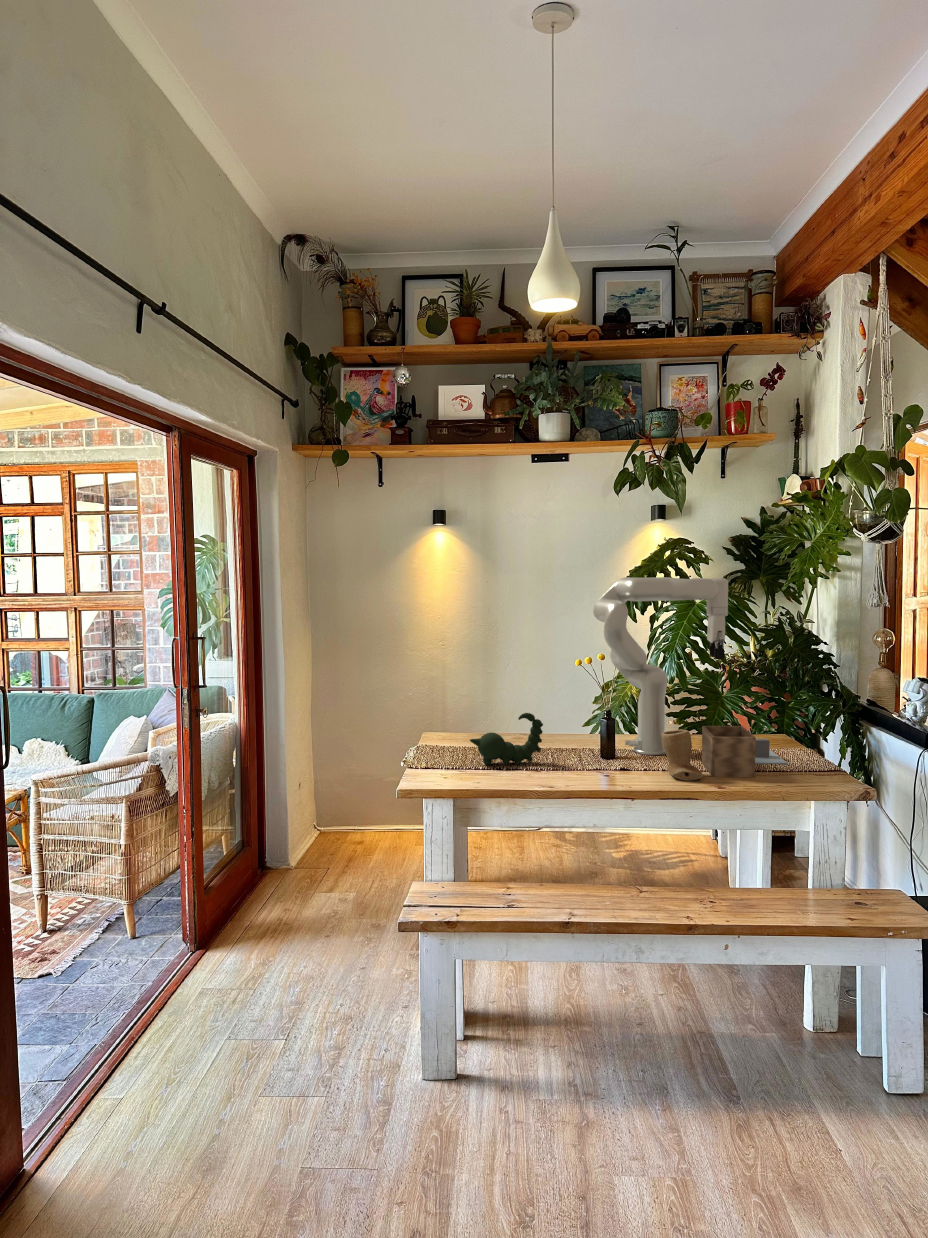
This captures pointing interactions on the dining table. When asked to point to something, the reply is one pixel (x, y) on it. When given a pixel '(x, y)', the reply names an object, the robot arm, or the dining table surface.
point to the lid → (766, 753)
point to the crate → (728, 751)
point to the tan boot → (679, 755)
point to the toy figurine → (510, 745)
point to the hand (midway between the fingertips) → (716, 657)
